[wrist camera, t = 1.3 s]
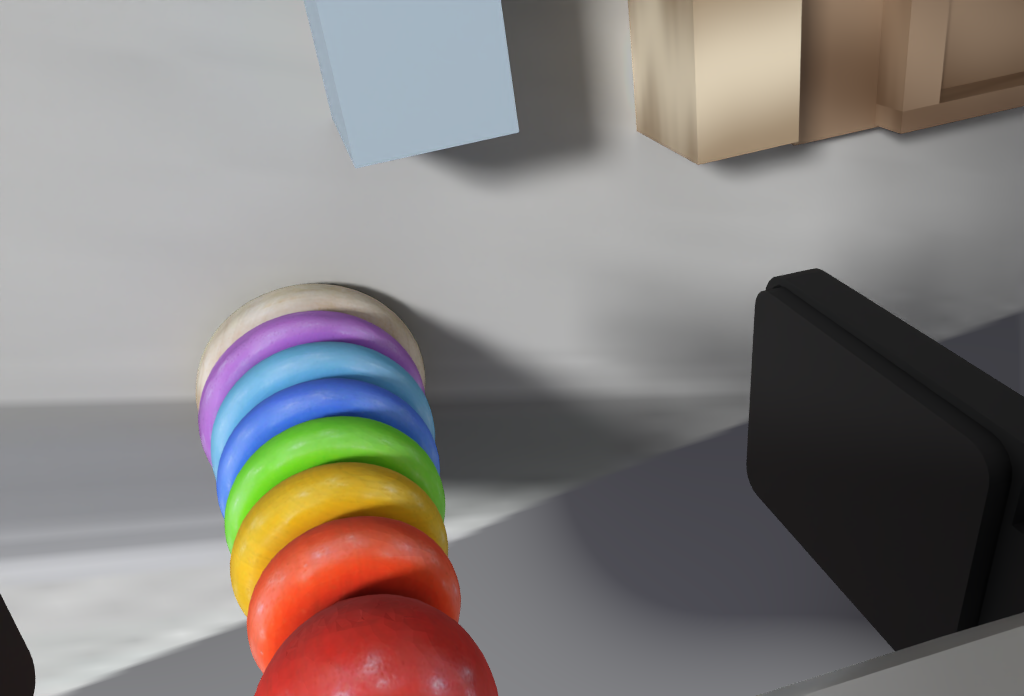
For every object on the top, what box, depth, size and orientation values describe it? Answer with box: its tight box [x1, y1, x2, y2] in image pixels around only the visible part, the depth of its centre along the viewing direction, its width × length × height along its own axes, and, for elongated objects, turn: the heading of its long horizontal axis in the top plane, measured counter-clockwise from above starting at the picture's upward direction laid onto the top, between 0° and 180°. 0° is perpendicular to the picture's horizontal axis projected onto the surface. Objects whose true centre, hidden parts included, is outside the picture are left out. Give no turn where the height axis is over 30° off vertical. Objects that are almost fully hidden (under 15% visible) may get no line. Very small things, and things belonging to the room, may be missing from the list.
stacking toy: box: [196, 284, 498, 696], centre depth 24 cm, size 8×8×19 cm
